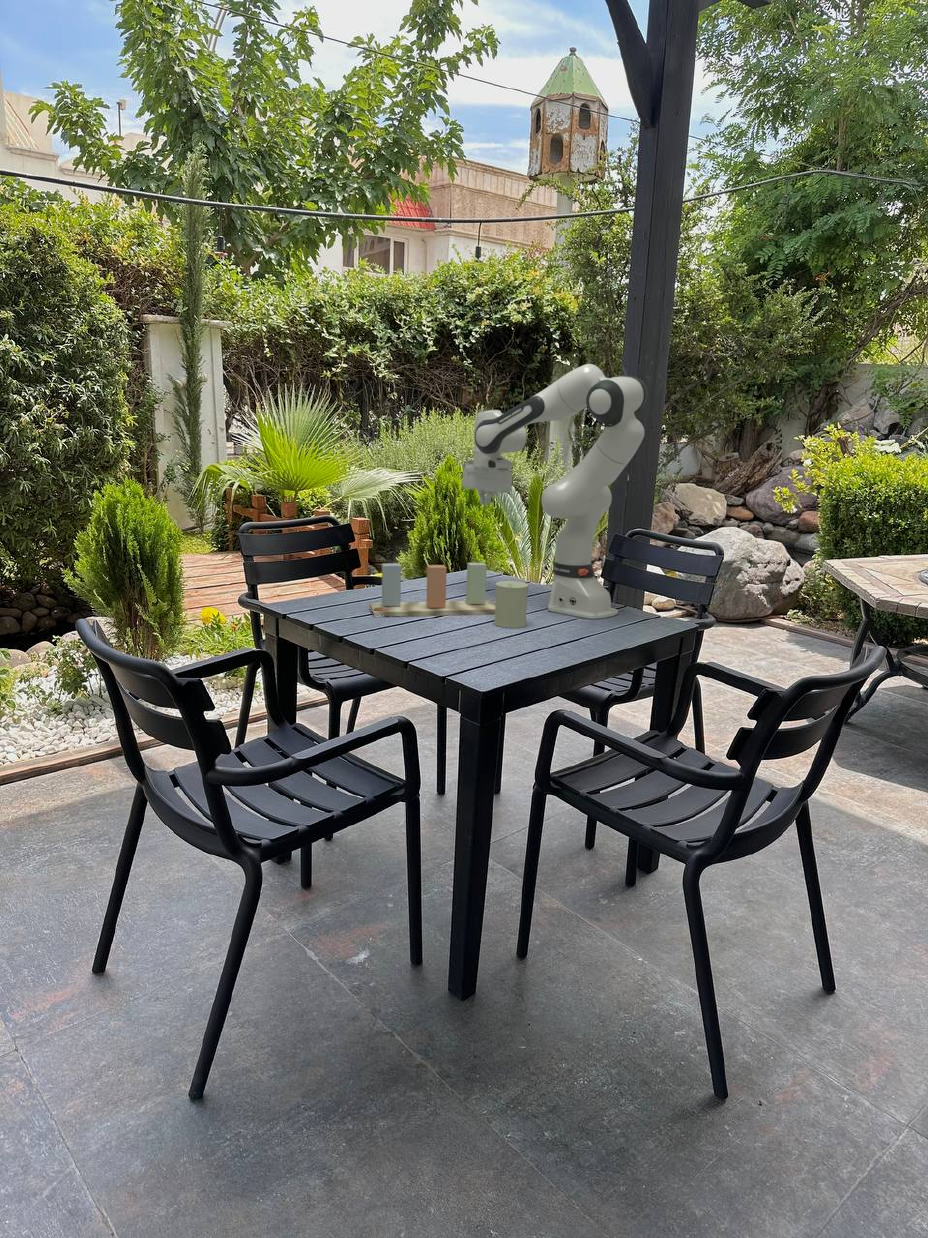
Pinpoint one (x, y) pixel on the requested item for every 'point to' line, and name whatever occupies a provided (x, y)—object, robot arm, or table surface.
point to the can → (511, 604)
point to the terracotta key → (436, 586)
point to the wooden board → (433, 609)
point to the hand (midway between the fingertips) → (485, 504)
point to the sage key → (476, 583)
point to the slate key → (391, 584)
